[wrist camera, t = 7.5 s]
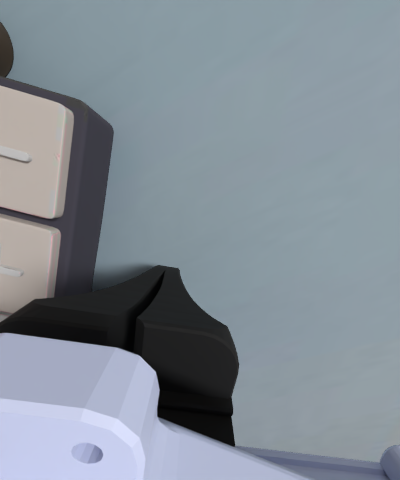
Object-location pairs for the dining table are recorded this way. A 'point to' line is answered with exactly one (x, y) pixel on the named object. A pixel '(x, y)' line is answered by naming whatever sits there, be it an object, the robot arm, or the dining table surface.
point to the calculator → (49, 193)
